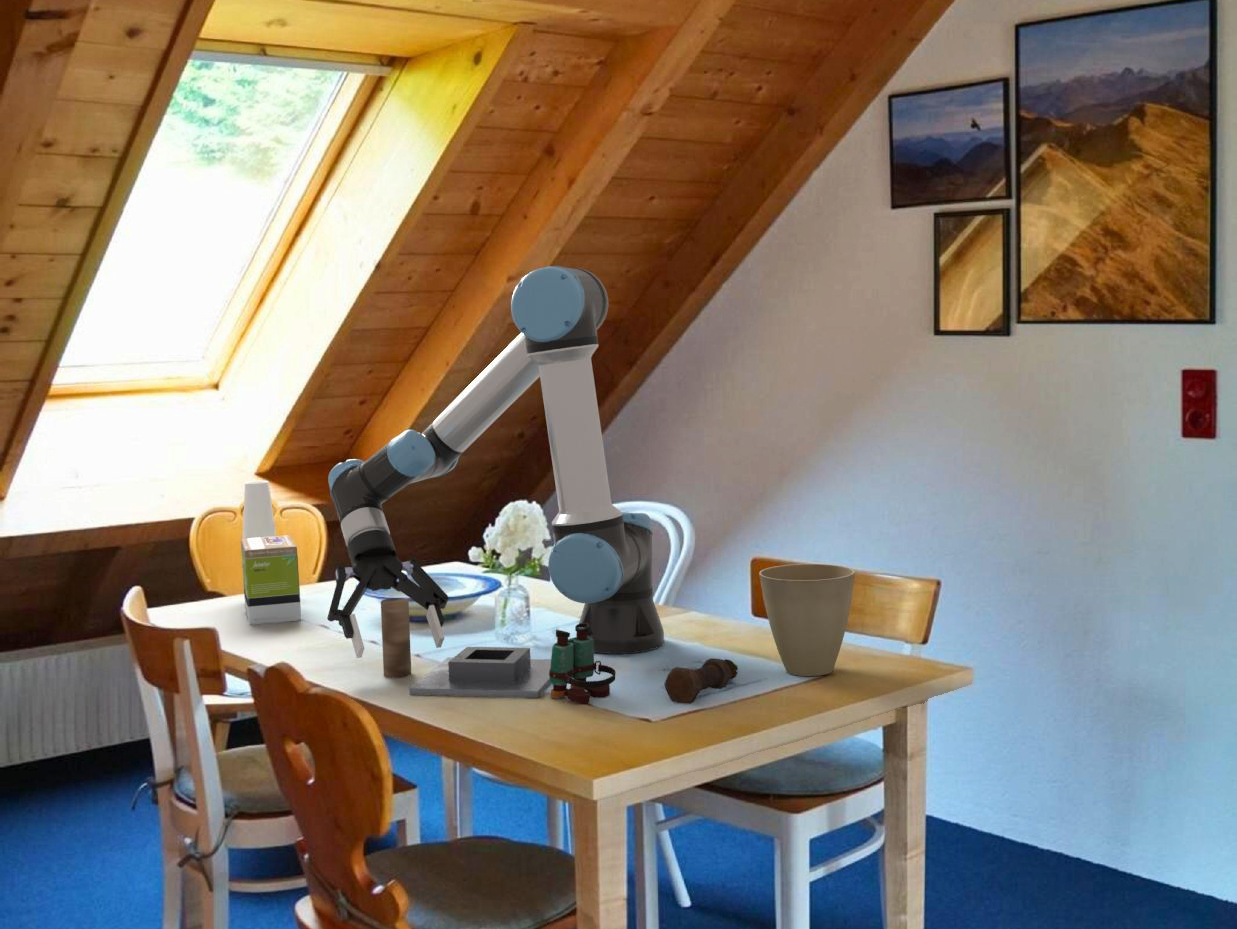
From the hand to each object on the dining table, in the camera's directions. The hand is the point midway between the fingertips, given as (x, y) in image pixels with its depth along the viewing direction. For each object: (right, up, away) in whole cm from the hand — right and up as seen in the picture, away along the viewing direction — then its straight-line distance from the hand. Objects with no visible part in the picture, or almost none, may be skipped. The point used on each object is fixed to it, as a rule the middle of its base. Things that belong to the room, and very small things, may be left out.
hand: (401, 648), depth 234 cm
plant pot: (+64, -4, -1) cm, 64 cm away
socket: (+14, -5, -2) cm, 15 cm away
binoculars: (+30, -6, -14) cm, 33 cm away
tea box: (-33, 0, +52) cm, 61 cm away
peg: (-1, -5, +3) cm, 5 cm away
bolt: (+48, -5, -12) cm, 50 cm away
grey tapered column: (-39, +2, +71) cm, 81 cm away
